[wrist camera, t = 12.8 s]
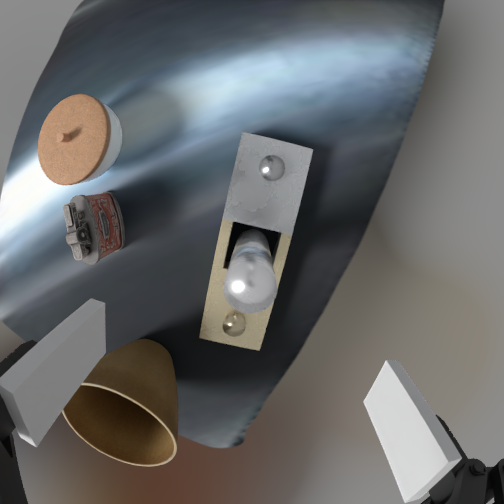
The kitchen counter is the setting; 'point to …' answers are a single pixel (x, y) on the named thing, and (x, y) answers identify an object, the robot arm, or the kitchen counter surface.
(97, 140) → the lidded jar
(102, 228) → the lighter
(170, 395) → the plant pot
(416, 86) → the kitchen counter surface
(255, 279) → the pin
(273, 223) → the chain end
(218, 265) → the frame
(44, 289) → the kitchen counter surface
